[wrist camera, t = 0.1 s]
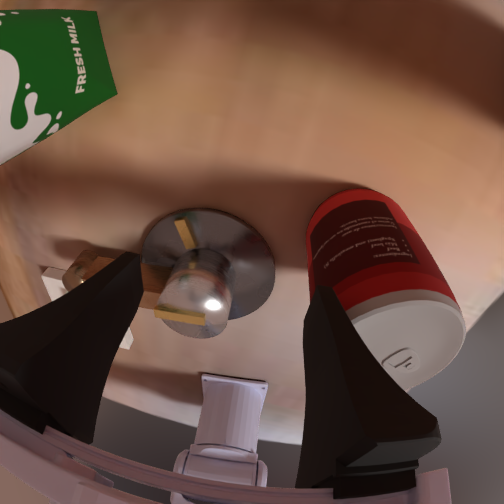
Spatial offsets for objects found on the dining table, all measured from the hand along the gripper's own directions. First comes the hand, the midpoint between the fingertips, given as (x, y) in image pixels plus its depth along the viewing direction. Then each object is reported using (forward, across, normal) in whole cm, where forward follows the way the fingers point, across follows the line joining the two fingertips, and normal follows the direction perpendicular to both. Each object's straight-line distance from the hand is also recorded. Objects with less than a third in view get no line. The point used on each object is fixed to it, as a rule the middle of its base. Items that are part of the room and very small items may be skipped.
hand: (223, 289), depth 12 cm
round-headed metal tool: (+9, +7, +8) cm, 14 cm away
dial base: (+10, +4, +8) cm, 13 cm away
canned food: (+10, -8, +2) cm, 13 cm away
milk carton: (+10, +14, -8) cm, 19 cm away
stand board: (+10, +16, +16) cm, 24 cm away
